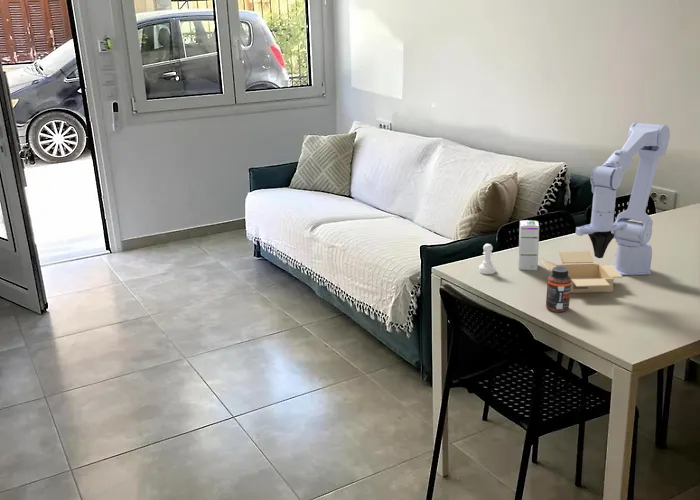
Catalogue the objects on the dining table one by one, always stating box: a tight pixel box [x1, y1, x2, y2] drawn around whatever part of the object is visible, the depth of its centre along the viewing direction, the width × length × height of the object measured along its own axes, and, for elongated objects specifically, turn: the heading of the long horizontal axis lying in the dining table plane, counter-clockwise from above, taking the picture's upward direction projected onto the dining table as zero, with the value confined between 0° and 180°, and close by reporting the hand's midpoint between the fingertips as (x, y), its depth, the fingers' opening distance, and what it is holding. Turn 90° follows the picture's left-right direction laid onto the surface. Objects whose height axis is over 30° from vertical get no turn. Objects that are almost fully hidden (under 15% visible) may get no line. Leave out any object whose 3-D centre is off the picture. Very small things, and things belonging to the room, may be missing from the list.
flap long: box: [540, 258, 557, 273], centre depth 189 cm, size 1×9×4 cm
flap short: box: [558, 251, 594, 265], centre depth 196 cm, size 9×1×4 cm
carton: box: [550, 263, 624, 294], centre depth 188 cm, size 17×16×4 cm
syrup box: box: [517, 219, 540, 271], centre depth 203 cm, size 6×6×14 cm
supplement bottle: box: [545, 267, 571, 313], centre depth 174 cm, size 6×6×11 cm
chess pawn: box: [478, 243, 496, 275], centre depth 201 cm, size 5×5×9 cm
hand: (598, 256), depth 183 cm, fingers closed
